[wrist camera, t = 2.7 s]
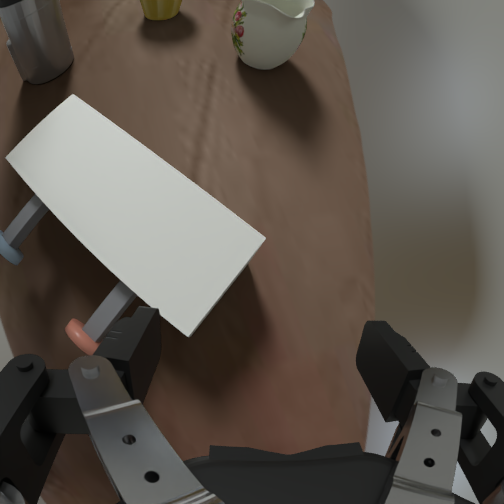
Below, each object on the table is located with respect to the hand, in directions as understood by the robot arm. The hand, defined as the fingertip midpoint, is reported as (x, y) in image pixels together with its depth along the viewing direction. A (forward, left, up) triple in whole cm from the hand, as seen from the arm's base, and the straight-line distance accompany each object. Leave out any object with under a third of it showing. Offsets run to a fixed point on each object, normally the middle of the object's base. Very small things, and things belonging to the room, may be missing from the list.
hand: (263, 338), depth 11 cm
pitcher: (+3, +43, -21) cm, 48 cm away
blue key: (-20, +9, -17) cm, 28 cm away
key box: (-11, +11, -21) cm, 26 cm away
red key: (-10, +2, -17) cm, 19 cm away
